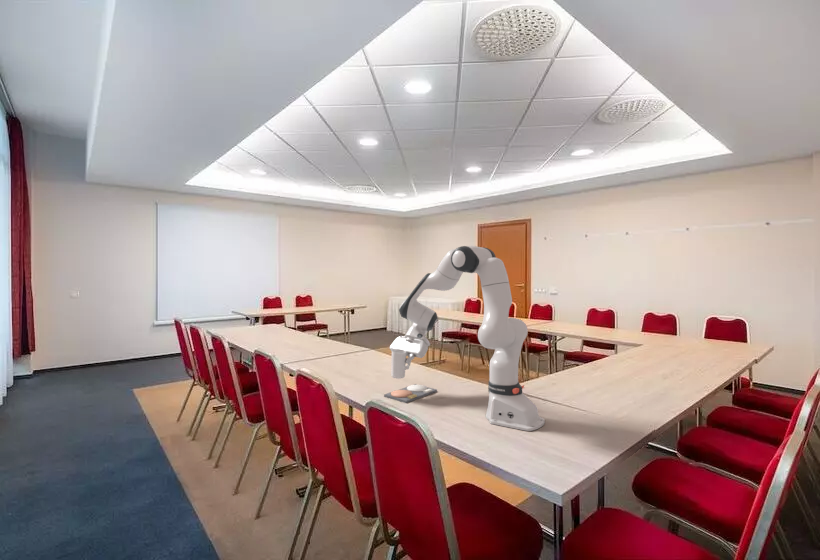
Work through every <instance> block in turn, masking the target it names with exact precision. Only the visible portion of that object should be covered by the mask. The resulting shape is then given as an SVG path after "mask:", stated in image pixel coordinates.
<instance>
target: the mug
mask: <svg viewBox="0 0 820 560" xmlns="http://www.w3.org/2000/svg"><path fill="white" fill-rule="evenodd" d="M409 357H410V353H406V351H405V350H402V349H395V350H392V351H391V365H390V366H391V369H390V370H391V374H390V375H391V377H392V378H393V379H398V380H399V379H404V378H405V376H406V370H409V369H410V366H411V363H412V360H411V361H410V362H409V364H407V363H405V359H406V358H409ZM406 364H407V365H406Z"/></svg>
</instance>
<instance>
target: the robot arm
mask: <svg viewBox="0 0 820 560" xmlns="http://www.w3.org/2000/svg"><path fill="white" fill-rule="evenodd" d="M463 273H468V274H474V273H475V274H477V275H478V277H479V279H480V286H481V292H482V299H483V318H482V322H481V325H480V327H479V328H478V330H477V331H478V332H477V340H478V342H479V343H480V346H482V347H484V348H485V349H488V350H494V351H493V352H494V353H493V355H492V357H491V358H490V360H489V370H488V371H489V380H488V394H489V395H488V404H487V409H486V411H485V418H486V419H487V420H488V422H489V423H490V424H491V425H495V426H501V427H505V428H511V429H517V430H521V431H524V432H525V431H526V432H531V431H535V430H538V429H540V428H542V427H543V426H544V425H545V421H546V420H545V418H544V417H542V416H540V415H539V409H538V406H537V405H536V404H535V403H534V402H533V401H532V400H531V399H530V398H529V397H528V396H527V395H525V394H524V393H523V389H525V385H521V384H520V382H519V362H520V361H519V360H520V356H521V351H522V348H523V345H524V344H523V343H524V341H525V340H526V338H527V336H528V331H529V330H528V326H527V325H526V323H525V321H523V320H521V319H519V318H516V317H515V318H514V317H509V314H510V309H511V306H512V304H513V297H512V292H511V285H510V281H509V275H508V271H507V268H506V267H505V264H504V261H503V260H502V259H501V258H498V257H497V256H496V254H495V252H494V251H493V250H492V249H490V248H488V247H484V246H483V247H482V246H481V247H480V246H476V245H462V246H459V247H456V248H452V249H450V250H448V251H447V252H446V254H445V255H444V256H443V258H442V259H441V260H440V263H439V264H438V266H437V268H435V270H434V271H433V272H431V273H429V272H427V273H426V274H425V275H424V276H423V277H422V279H420V281H419V282H418V284H417V285H416V286H415V288H414V289H413V290H412V291H411V292H410V293H409V295H408V297H406V299H404V300H403V301H402V302H401V304H400V305H399V309H398V311H399V315H400V316H401V318H403V319H405V320H408V321H410V322H411V323H412V325H411V326H410V327H409V328H408V329H407V331H406V333H405V334H404V335H400V336H398V337H396V338H395V339H394V340H392V341H393V342H391V344H390V345H389V350H390V352H392V350H395V349H402V350H405V351H406V353H410V357H406V359H405V363H406V364H407V365H408V364H409V362H410V361H411V362H412V361H413V360H414V359H415V358H420V359H422V358H424V357H425V356H426V353H427V352H428V349H429V346H431V342H430V341H429V339H428V338H427V337H426V335H427V333H428V332H430V331H432V330H433V328H434V326H435V325H436V323H437V322H438V319H439V317H438V314H437V312H436V311H434V310H433V309H432V308H430V307H429V306H426V305H424V304H422V303H420V302H419V301H418V300H417V299H418V298H419V297H420V296H421V294H422V293H423V292H424V291H425V290H436V291H443V292H445V291H450V290H452V289H454V288H455V287H456V285H457V284H458V282H459V281H460V278H461V277H462V275H463Z"/></svg>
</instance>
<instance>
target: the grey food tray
mask: <svg viewBox="0 0 820 560" xmlns="http://www.w3.org/2000/svg"><path fill="white" fill-rule="evenodd" d="M437 392H438V389H437V388H433V387H430V386H427V385H424V384H423V385H422V384H417V383H415V384H410V385H408V386H406V387H403V388H400V389H396V390H393V391H391V392H388V393H385V394H384V393H383V397H385V398H388V399H390V400H395V401H398V402H401V403H405V404H408V403H411V402H412V401H413V402H414V401H415V400H418V399H422V398H423V397H427V396H428V395H429V396H430V395H431V394H434V393H437Z"/></svg>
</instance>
